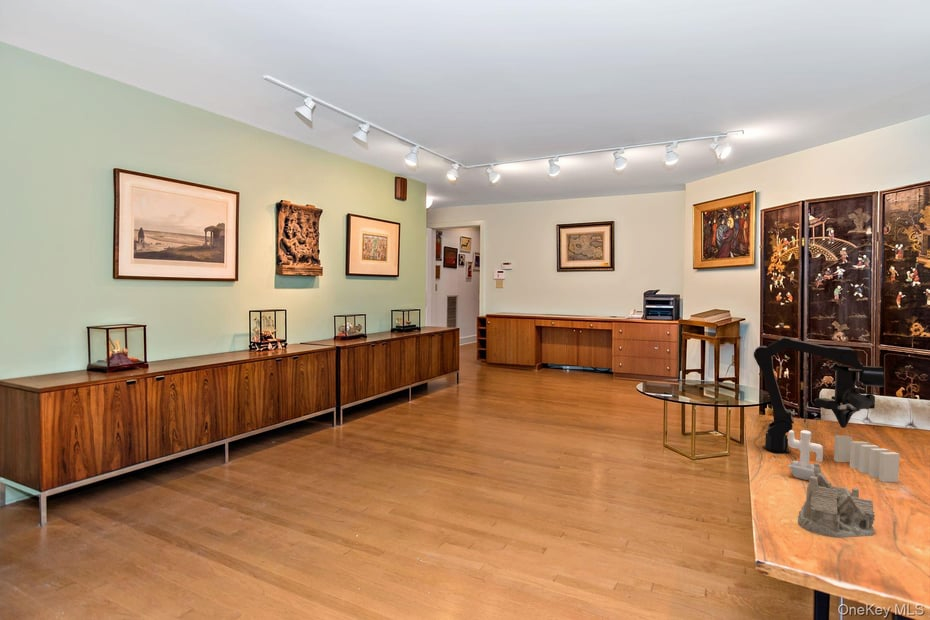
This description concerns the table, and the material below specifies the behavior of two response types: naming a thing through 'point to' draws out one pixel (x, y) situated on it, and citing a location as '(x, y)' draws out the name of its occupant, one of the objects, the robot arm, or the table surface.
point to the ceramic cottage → (835, 509)
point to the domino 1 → (842, 448)
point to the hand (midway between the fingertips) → (843, 427)
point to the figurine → (804, 454)
